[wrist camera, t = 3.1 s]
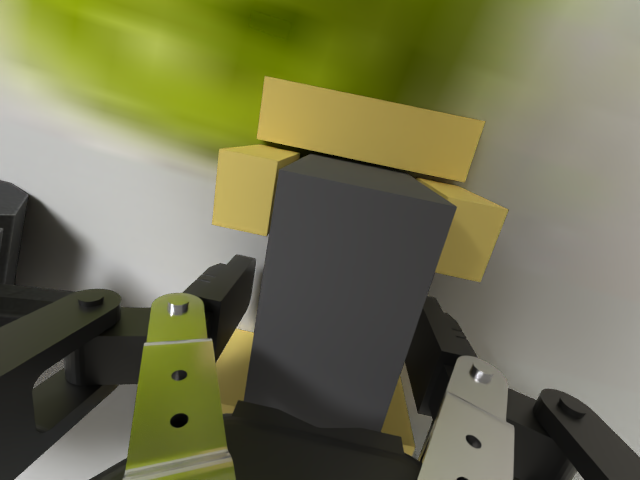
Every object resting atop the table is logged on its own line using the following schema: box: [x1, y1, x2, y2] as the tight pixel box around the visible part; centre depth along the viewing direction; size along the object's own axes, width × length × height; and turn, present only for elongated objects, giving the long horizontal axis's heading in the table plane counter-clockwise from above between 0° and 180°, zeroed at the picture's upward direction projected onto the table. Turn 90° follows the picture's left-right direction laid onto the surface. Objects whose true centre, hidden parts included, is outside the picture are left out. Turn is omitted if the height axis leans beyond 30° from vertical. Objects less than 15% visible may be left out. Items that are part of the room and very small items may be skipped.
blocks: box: [212, 76, 509, 456], centre depth 12 cm, size 14×7×4 cm, turn 169°
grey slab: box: [244, 153, 457, 432], centre depth 11 cm, size 11×4×6 cm, turn 169°
